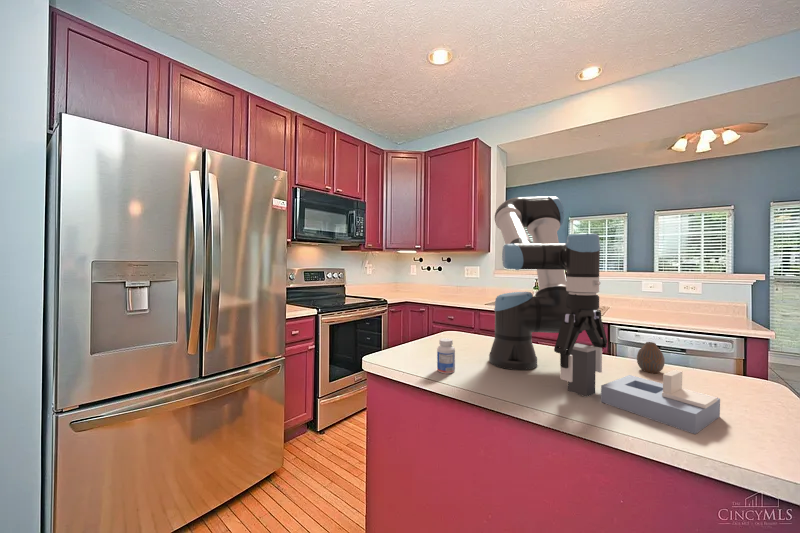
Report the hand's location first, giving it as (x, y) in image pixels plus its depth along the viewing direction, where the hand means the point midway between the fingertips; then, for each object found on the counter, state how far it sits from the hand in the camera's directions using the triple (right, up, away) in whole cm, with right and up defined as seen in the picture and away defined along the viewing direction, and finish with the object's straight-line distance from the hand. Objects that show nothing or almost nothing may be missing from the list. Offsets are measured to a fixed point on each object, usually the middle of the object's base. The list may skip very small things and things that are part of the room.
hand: (581, 375), depth 88 cm
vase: (+30, -4, +17) cm, 35 cm away
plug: (0, -4, 0) cm, 4 cm away
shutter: (+16, -1, -14) cm, 21 cm away
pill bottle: (-33, -4, +17) cm, 37 cm away
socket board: (+12, -5, -10) cm, 16 cm away
